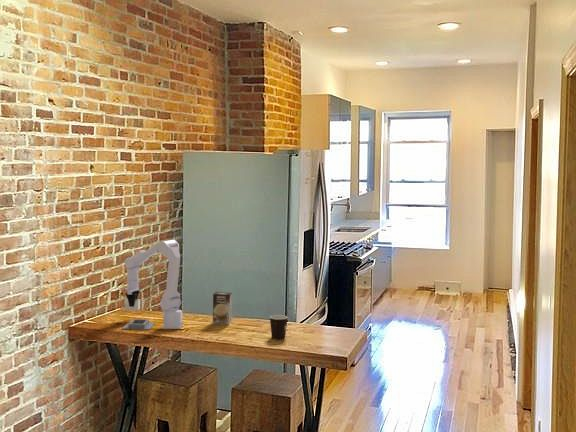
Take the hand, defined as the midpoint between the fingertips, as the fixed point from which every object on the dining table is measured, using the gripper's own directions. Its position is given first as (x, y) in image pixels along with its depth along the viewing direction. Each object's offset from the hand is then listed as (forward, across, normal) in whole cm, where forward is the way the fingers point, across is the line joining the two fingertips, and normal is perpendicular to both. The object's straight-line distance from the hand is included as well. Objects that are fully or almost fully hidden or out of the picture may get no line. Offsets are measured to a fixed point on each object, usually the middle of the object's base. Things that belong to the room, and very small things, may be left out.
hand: (132, 305), depth 343 cm
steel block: (+2, 0, 0) cm, 2 cm away
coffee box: (+8, +2, +47) cm, 48 cm away
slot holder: (+8, +12, +6) cm, 16 cm away
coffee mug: (+8, +29, +76) cm, 82 cm away
